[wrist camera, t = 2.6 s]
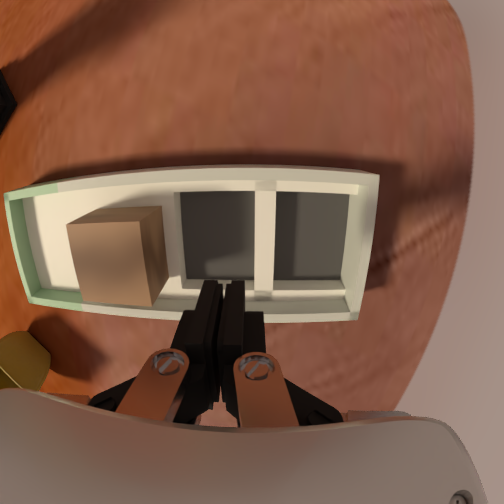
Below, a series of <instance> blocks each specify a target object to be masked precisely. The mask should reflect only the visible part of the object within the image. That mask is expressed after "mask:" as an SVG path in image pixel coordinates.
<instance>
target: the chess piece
mask: <svg viewBox="0 0 504 504" xmlns="http://www.w3.org/2000/svg"><path fill="white" fill-rule="evenodd" d="M16 106H17V103H16V101H15V99H14V97H13V95H12V93H11V91H10V89H9V87H8V85H7V83H6V81H5V79H4V77H3V75H2V72H1V70H0V134H1V132H2V130H3V128H4V126H5V125H6V123H7V121H8V119H9V117H10V116H11V114H12V112H13V111H14V109H15V107H16Z"/></svg>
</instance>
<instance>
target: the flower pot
mask: <svg viewBox="0 0 504 504" xmlns="http://www.w3.org/2000/svg"><path fill="white" fill-rule="evenodd" d="M50 361H51V355H50V353H49V352H48V351H47V350H46V349H45V348H44V347H43V346H42V345H40V344H39V343H38V342H37V341H36V340H35V339H34V338H33V337H32V335H31V334H30V333H29V332H27V331H16V332H12V333H10V334H8V335H6V336H4V337H3V338H1V339H0V390H1V389H5V388H22V389H30V390H35V391H39V390H40V388H41V386H42V384H43V382H44V381H45V379H46V377H47V374H48V371H49V368H50Z"/></svg>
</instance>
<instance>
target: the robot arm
mask: <svg viewBox="0 0 504 504" xmlns="http://www.w3.org/2000/svg"><path fill="white" fill-rule="evenodd" d="M220 386H221V392H222V400H223V402H226V410H227V411H228V412H229V413H230V414H232V415H233V416H234V417H235V418H236V419H237V427H238V428H236V427H215V426H201V425H199V424H200V421H201V414H202V413H204V412H205V411H207V410H208V409H211V410H213V403H214V402H219V395H220ZM0 504H488V501H487V498H486V495H485V492H484V489H483V486H482V483H481V480H480V478H479V475H478V473H477V471H476V469H475V466H474V464H473V462H472V460H471V457H470V455H469V453H468V451H467V450H466V448H465V446H464V444H463V443H462V441H461V440H460V438H459V437H458V435H457V434H456V433H455V432H454V430H453V429H452V428H451V427H450V426H448V425H447V424H446V423H444V422H441V421H439V420H436V419H432V418H427V417H416V416H411V415H409V414H408V413H405V412H401V411H354V410H348V412H347V413H340V412H339V411H338V410H336V409H335V408H334V407H332V406H330V405H329V404H327V403H325V402H323V401H322V400H320V399H318V398H316V397H315V396H313V395H311V394H310V393H308V392H306V391H305V390H303V389H301V388H300V387H298V386H296V385H295V384H293V383H292V382H290V381H288V380H287V379H285V378H284V377H283V374H282V371H281V368H280V365H279V363H278V361H277V360H276V359H275V358H274V357H273V356H271V355H269V354H267V353H266V345H265V328H264V312H263V311H245V280H232V281H231V284H226V289H225V295H223V284H221V283H218V280H204V282H203V285H202V288H201V291H200V294H199V297H198V301H197V304H196V307H195V310H184V311H183V314H182V316H181V319H180V322H179V325H178V327H177V330H176V333H175V336H174V339H173V341H172V344H171V347H170V348H168V349H162V350H159V351H156V352H155V353H153V354H152V355H151V356H150V357H149V358H148V359H147V361H146V362H145V364H144V366H143V367H142V369H141V370H140V372H139V374H138V375H137V376H136V377H134V378H132V379H130V380H128V381H125V382H123V383H121V384H119V385H117V386H115V387H112V388H110V389H108V390H106V391H104V392H101V393H99V394H97V395H96V396H94V397H93V398H92V399H90V397H89V396H87V395H69V394H57V393H43V392H39V391H35V390H30V389H22V388H5V389H1V390H0Z"/></svg>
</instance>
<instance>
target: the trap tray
mask: <svg viewBox="0 0 504 504" xmlns="http://www.w3.org/2000/svg"><path fill="white" fill-rule="evenodd" d="M379 176H380V175H377V174H374V173H370V172H366V171H362V170H357V169H345V168H333V167H317V166H298V165H262V164H230V165H194V166H175V167H160V168H147V169H136V170H126V171H117V172H108V173H100V174H92V175H85V176H79V177H72V178H66V179H60V180H54V181H49V182H43V183H38V184H33V185H28V186H25V187H22V188H19V189H16V190H12V191H9V192H6V193H4V201H5V208H6V214H7V220H8V226H9V231H10V236H11V241H12V245H13V250H14V254H15V258H16V262H17V265H18V269H19V273H20V276H21V279H22V283H23V286H24V289H25V292H26V295H27V298H28V301H29V303H33V304H39V305H44V306H51V307H57V308H64V309H70V310H78V311H85V312H93V313H101V314H110V315H120V316H130V317H141V318H154V319H168V320H180V319H181V316H182V314H183V311H184V310H195V307H196V304H197V301H198V297H199V294H200V291H201V288H202V285H203V282H204V280H218V283H221V284H223V295H225V289H226V284H231V281H232V280H245V311H263V312H264V323H288V322H324V321H345V320H358V315H359V311H360V307H361V302H362V297H363V292H364V287H365V282H366V277H367V272H368V266H369V260H370V254H371V247H372V241H373V234H374V226H375V218H376V209H377V200H378V189H379ZM143 206H162V215H163V227H164V237H165V247H166V256H167V265H168V273H169V279H168V280H167V282H166V284H165V285H164V287H163V289H162V291H161V292H160V294H159V296H158V297H157V299H156V301H155V302H154V304H153V306H152V307H151V306H136V305H124V304H112V303H102V302H92V301H83V298H82V295H81V291H80V288H79V284H78V280H77V276H76V272H75V268H74V264H73V259H72V255H71V250H70V245H69V240H68V234H67V228H66V224H68V223H70V222H72V221H74V220H76V219H77V218H79V217H81V216H83V215H85V214H88V213H90V212H92V211H94V210H96V209H106V208H123V207H143Z"/></svg>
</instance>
